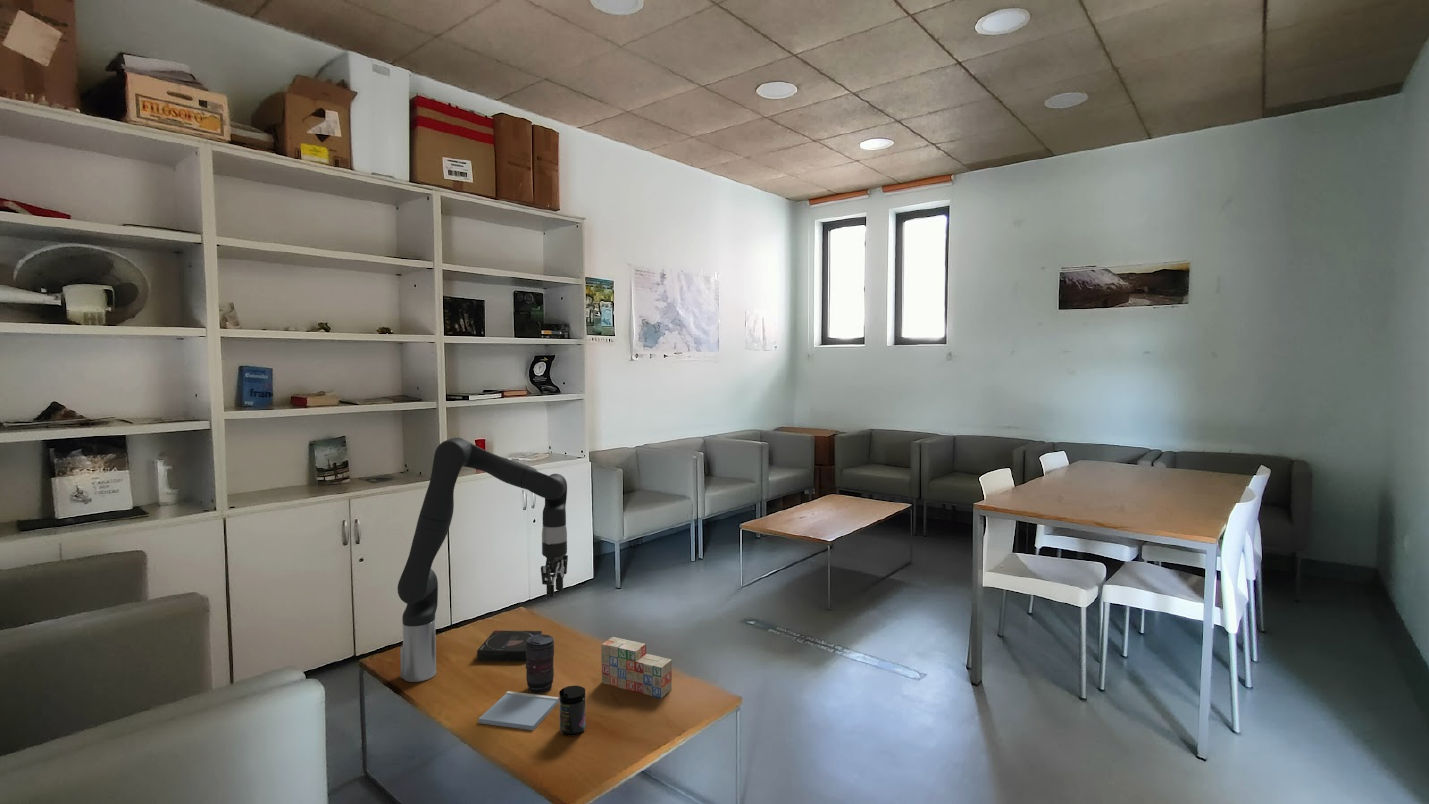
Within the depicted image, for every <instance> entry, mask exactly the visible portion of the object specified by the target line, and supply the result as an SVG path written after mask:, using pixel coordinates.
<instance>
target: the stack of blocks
mask: <svg viewBox="0 0 1429 804" xmlns="http://www.w3.org/2000/svg"><path fill="white" fill-rule="evenodd" d="M646 644H647V643H642V642H638V641H634V640H628V639H624V638H620V637H615V636H612V637H610V638H609V639H607V640H606V641H604V642H602V643H601V645H600V646H601V647H600V648H601V650H600V651H601V655H600V656H601V659H600V660H601V661H600V662H601V683H602V684H606V685H609V686H613V687H616V688H620V689H623V690H629V691H632V692H637V693H638V694H643V695H647V696H650V697H653V698H654V697H655V698H658V699H663V697H665V696H666V695H667V694H669V692H671V691H672V689H673V688H672V686H673V685H672V683H673V682H672V678H673V677H672V674H673V673H672V670H673V666H672V665H673V660H672V659H671V658H666V657H662V656H660V655H659V656H658V655H654V654H650V653H647V645H646Z"/></svg>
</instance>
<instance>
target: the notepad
mask: <svg viewBox="0 0 1429 804" xmlns="http://www.w3.org/2000/svg"><path fill="white" fill-rule="evenodd" d="M558 704H559V696H551V695H550V696H549V695H543V694H536V693H527V692H517V691H509V690H507V691H506V692H505V694H504V695H503V696H502V697H500V698H499V700H497V701H496V702H495V703H494V704H493V705H492V706H491V707H489V708H488V710H486V711H485V712H484V713H483V714H482V715H481V716H479V718H478V724H483V725H491V726H499V727H506V728H514V729H520V730H526V731H527V730H529V731H534V730H535V729H536V728H537V727H538V726H539V725H540V724H541V722H543V720H544V719H545V718H546V717H547V716H548V715H549V714H550V713H551V712H552V711H553V709H554V708H555V707H556V706H557V705H558Z"/></svg>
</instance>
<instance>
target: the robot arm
mask: <svg viewBox="0 0 1429 804" xmlns="http://www.w3.org/2000/svg"><path fill="white" fill-rule="evenodd" d="M462 467H464V468H471V469H475V470H480V471H481V472H484V473H487V474H488V475H491V476H492V477H494V478H496V479H498V480H499V481H501V482H503V483H506V484H508V485H510V486H514V487H517V488H521V489H524V490H527V491H529V492H531V493H532V494H534V495H537V496H539V497H540V498H544V507H543V509H542V531H541V554H542V556H543V557H545V558H546V560H545V565H541V566H540V574H541V576H540V577H541V584H542V585H545V586H546V597H547V598H553V597H555V590H556V591H559V592H560V591H563V590H564V579H565V575H567V573H568V559H569V558H568V557H569V556H568V554H567V553H568V531H567V511H566V509H567V508H566V505H567V499H568V498H567V495H568V483H567V480H566V478H565V477H564V476H563V475H562V474H560V473H553V474H550V475H548V474H545V473H542V472H540V471H538V469H537V468H535V467H533V466H530V465H527V464H523V463H521V462H518V461H515V460H513V459H508V458H506V457H502V456H500V455H497V454H494V453H493V452H490V451H488V450H486V449H483V448H481V447H480V446H477V445H476V444H474V443H472V442H470V441H468V440H466V439H464V438H461V437H453V438H450V439H446V440H444V441H442V442H441V443H439V445H438V446H437V447H436V449H435V452H434V454H433V461H432V468H431V474H430V481H429V483H428V487H427V489H426V493H425V495H424V499H423V501H422V502H423V503H422V505H421V509H420V511H419V515H418V519H417V521H416V522H417V523H416V526H415V527H416V528H415V531H414V534H413V538H412V542H411V546H410V550H409V554H408V558H407V560H406V563H405V566H404V569H403V571H402V573H401V575H400V578H399V581H398V584H397V594H398V598H399V599H400V600H401V601H402V602H403V603H404V604H406V607H405V609H404V611H403V614H402V646H401V647H400V650H399V656H400V658H399V659H400V679H403V680H404V681H405V682H409V683H420V682H425V681H427V680H430V679H432V678H433V677H434V676H436V675H437V646H436V645H437V644H436V643H437V642H436V641H437V638H436V613H437V609H438V603H439V602H438V601H439V600H438V599H439V597H438V596H439V585H438V584H439V583H438V577H437V574H436V573H435V571H434V570H433V569H432V565H433V562H434V560H435V558H436V556H437V554H438V553H439V550H440V549H441V547H442V546H443V543H444V542H445V540H446V537H447V535H448V532H449V530H450V528H451V527H450V526H451V523H452V520H453V514H454V507H455V506H454V505H455V501H454V499H455V498H454V497H455V496H454V492H455V487H456V483H457V480H458V478H459V477H458V476H459V474H460V472H461V470H462V469H463V468H462Z"/></svg>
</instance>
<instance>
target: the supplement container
mask: <svg viewBox="0 0 1429 804" xmlns="http://www.w3.org/2000/svg"><path fill="white" fill-rule="evenodd" d="M558 695H559V696H558V697H559V703H558V704H559V706H558V707H559V732H560V733H561V734H562V735H563V736H567V737H574V736H578V735H580V734H582V733H583V732H584V731H585V729H586V688H585V687H583V686H581V685H569V686H565V687H563V688H561V689H560V690H559V694H558Z"/></svg>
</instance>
